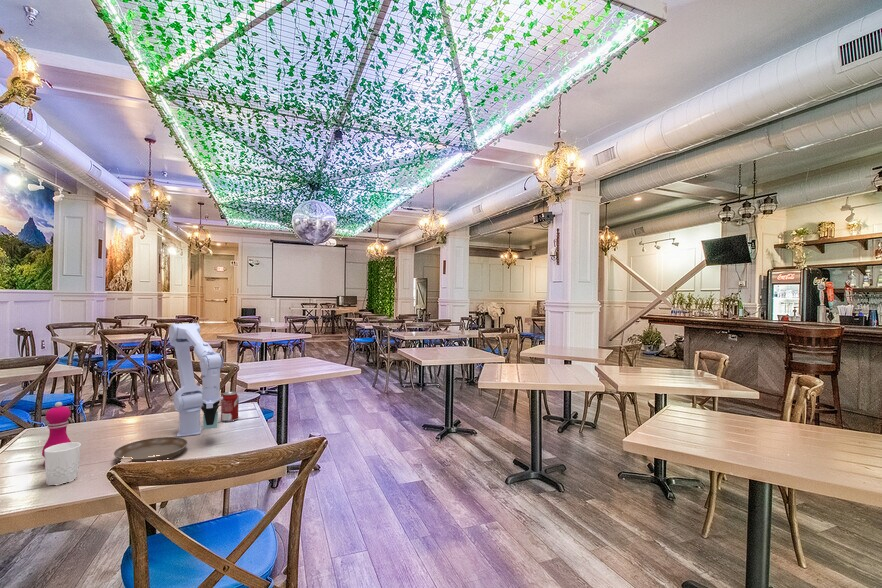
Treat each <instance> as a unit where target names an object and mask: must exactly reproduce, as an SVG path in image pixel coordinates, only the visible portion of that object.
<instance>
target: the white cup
mask: <svg viewBox="0 0 882 588" xmlns="http://www.w3.org/2000/svg"><path fill="white" fill-rule="evenodd" d="M81 446H82V444H81V442H78V441H77V442H75V441H74V442H73V441H71V442H69V443H62V444H57V445H54V446H51V447H48V448H46V449H45V450H44V454H45V457H44V460H45V467H44V470H45V477H46V485H47V484H48V485H47V486H49V485H55V484H60V483H63V482H68V481H70V480H72V479H75V478H76V477H77V478H78V474H79V468H80V460H81ZM75 480H76V479H75Z"/></svg>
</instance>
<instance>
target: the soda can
mask: <svg viewBox="0 0 882 588" xmlns="http://www.w3.org/2000/svg"><path fill="white" fill-rule="evenodd" d="M221 397H223V399H222V400H220V401H221V402H220V405H221V406H220V408H221V409H220V420H221V421H222V422H224V421H226V422H225V423H229V422H228V421H232V422H234V421H233V420H235V421H236V420H238V419H239V402H240V400H239V394H238V392H237V391H227V392H223V393H222V396H221Z"/></svg>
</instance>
